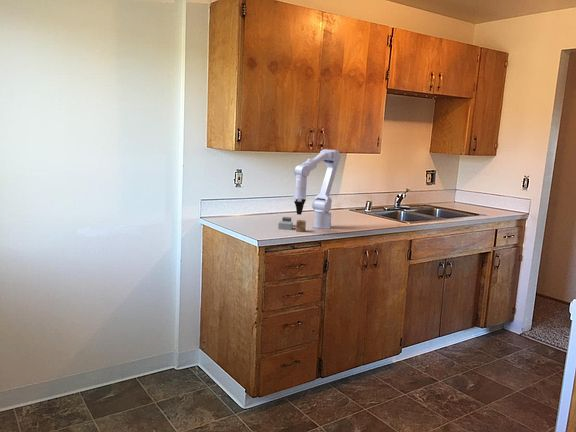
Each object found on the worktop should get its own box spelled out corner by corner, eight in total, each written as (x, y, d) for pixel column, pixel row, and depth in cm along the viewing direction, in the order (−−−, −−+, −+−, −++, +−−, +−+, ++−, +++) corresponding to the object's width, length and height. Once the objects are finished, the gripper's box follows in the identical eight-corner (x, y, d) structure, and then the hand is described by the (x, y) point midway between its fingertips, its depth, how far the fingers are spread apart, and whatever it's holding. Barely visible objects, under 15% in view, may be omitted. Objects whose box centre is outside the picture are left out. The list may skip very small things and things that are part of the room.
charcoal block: (291, 225, 278) (291, 217, 278) (290, 226, 274) (290, 218, 273) (283, 224, 279) (283, 216, 278) (282, 226, 274) (282, 218, 274)
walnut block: (305, 230, 265) (305, 220, 264) (304, 232, 260) (305, 221, 260) (297, 229, 265) (297, 219, 265) (296, 231, 261) (296, 221, 260)
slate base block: (292, 228, 272) (292, 221, 271) (291, 230, 265) (291, 224, 264) (279, 227, 272) (280, 220, 272) (278, 229, 266) (278, 223, 265)
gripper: (294, 186, 266) (293, 210, 268) (292, 189, 252) (290, 215, 254) (307, 187, 266) (305, 211, 268) (306, 189, 251) (304, 215, 253)
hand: (299, 213), depth 261 cm, fingers open, 7 cm apart
